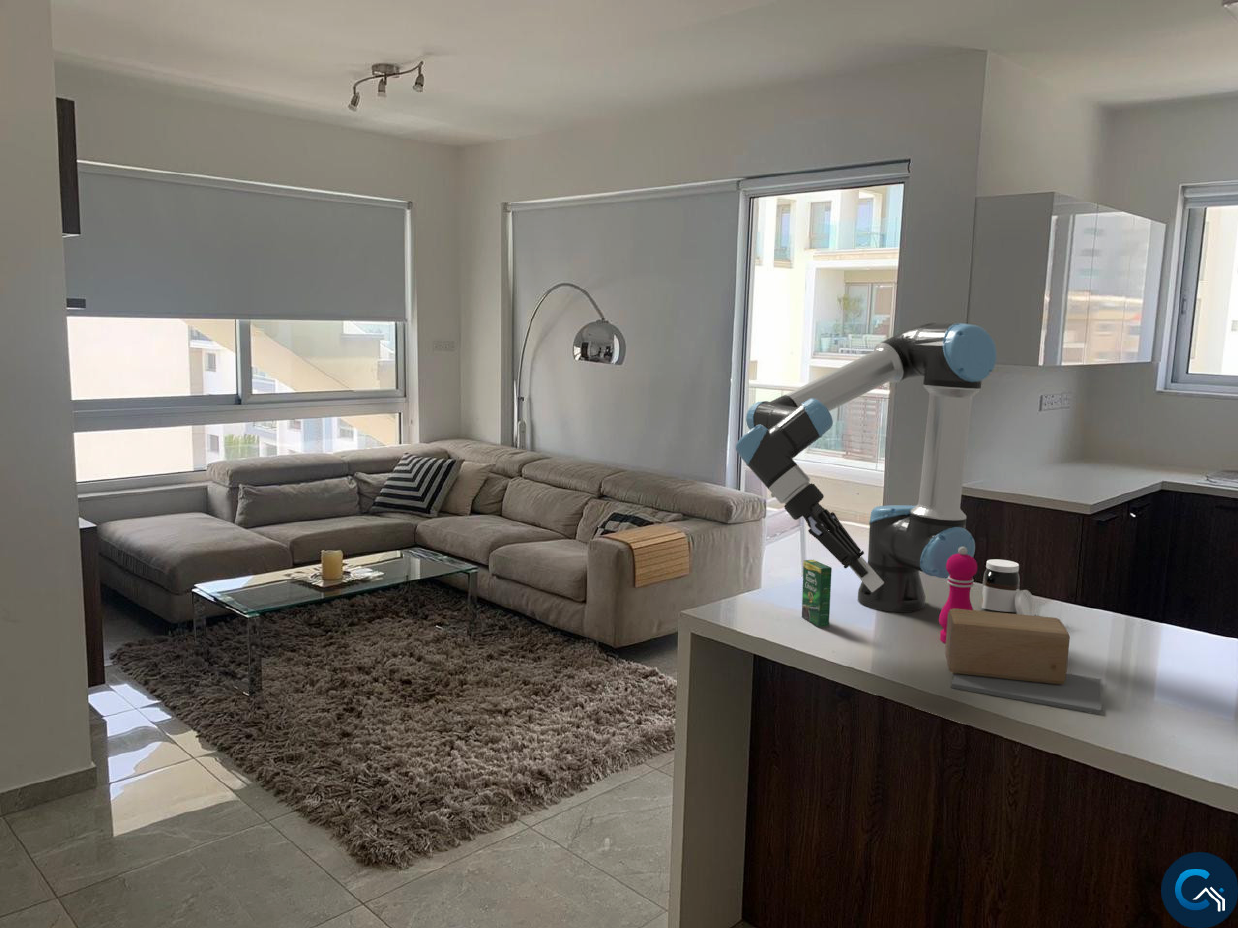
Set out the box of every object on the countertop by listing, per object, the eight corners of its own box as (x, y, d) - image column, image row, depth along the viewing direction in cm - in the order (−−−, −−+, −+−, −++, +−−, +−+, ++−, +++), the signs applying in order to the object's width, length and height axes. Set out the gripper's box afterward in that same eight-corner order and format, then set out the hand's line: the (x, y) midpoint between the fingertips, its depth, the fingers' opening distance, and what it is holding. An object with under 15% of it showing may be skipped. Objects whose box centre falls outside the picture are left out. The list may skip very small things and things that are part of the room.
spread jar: (980, 604, 219) (984, 556, 218) (1033, 610, 215) (1037, 561, 214) (980, 619, 208) (984, 568, 207) (1035, 626, 204) (1040, 574, 203)
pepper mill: (936, 644, 191) (943, 548, 188) (938, 633, 198) (945, 541, 195) (974, 649, 189) (981, 552, 186) (974, 638, 195) (982, 544, 192)
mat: (962, 659, 182) (962, 655, 182) (1100, 682, 172) (1100, 678, 172) (951, 687, 168) (951, 683, 168) (1101, 714, 158) (1101, 710, 158)
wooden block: (948, 674, 172) (1066, 687, 167) (952, 621, 171) (1071, 633, 166) (944, 656, 182) (1055, 667, 177) (947, 606, 180) (1060, 616, 175)
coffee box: (799, 616, 208) (802, 558, 206) (811, 615, 208) (814, 558, 206) (817, 628, 200) (820, 568, 198) (829, 627, 201) (832, 567, 199)
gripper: (792, 500, 192) (870, 590, 187) (773, 511, 180) (856, 607, 176) (819, 477, 189) (899, 568, 184) (802, 486, 177) (886, 584, 173)
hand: (878, 587), depth 180 cm, fingers closed
